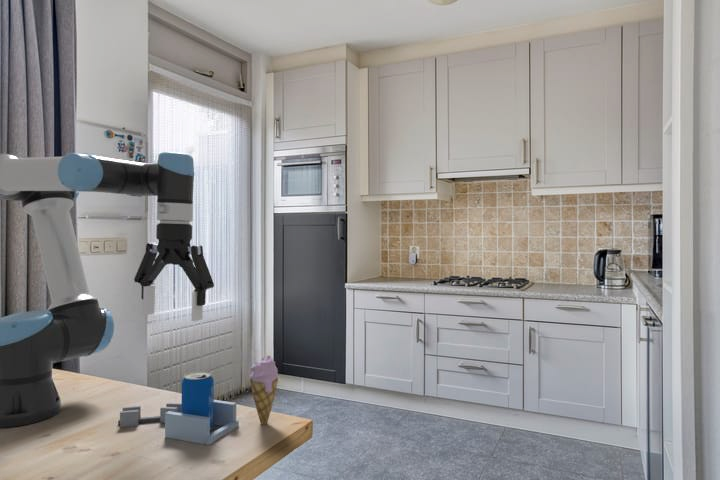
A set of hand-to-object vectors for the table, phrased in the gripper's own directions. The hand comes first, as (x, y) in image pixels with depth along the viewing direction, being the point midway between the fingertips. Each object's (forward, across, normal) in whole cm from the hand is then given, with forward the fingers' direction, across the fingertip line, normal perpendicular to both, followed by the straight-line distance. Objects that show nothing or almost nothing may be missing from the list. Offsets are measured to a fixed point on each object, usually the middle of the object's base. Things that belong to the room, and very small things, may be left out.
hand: (172, 317), depth 110 cm
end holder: (+23, +10, -3) cm, 25 cm away
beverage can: (+23, +10, -3) cm, 25 cm away
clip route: (+23, -2, -3) cm, 24 cm away
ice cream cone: (+23, +21, +5) cm, 32 cm away
